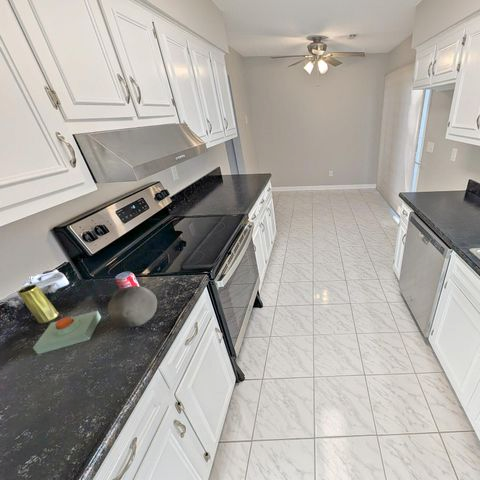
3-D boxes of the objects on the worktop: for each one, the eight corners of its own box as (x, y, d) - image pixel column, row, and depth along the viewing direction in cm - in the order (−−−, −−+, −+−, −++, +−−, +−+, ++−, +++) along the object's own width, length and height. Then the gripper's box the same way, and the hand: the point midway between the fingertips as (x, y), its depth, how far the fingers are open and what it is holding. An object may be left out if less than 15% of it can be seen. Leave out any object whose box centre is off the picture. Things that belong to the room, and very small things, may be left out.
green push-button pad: (38, 354, 83) (29, 343, 81) (56, 328, 93) (48, 318, 91) (89, 339, 88) (82, 329, 85) (101, 316, 98) (95, 307, 95)
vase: (40, 325, 95) (17, 296, 89) (35, 320, 98) (13, 291, 92) (61, 315, 100) (40, 286, 93) (56, 310, 103) (35, 281, 96)
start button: (55, 330, 86) (52, 327, 85) (61, 322, 89) (58, 319, 88) (69, 326, 87) (67, 323, 86) (74, 319, 91) (72, 315, 90)
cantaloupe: (114, 325, 93) (95, 293, 86) (156, 304, 102) (142, 273, 95) (125, 345, 84) (105, 311, 77) (169, 320, 93) (155, 288, 87)
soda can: (125, 305, 103) (112, 281, 97) (127, 297, 107) (114, 273, 102) (143, 299, 105) (131, 275, 100) (144, 291, 110) (132, 268, 105)
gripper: (-10, 291, 96) (-12, 307, 88) (61, 267, 109) (65, 278, 101) (1, 304, 99) (0, 320, 91) (68, 279, 112) (73, 291, 104)
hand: (35, 298), depth 96 cm, fingers open, 8 cm apart
